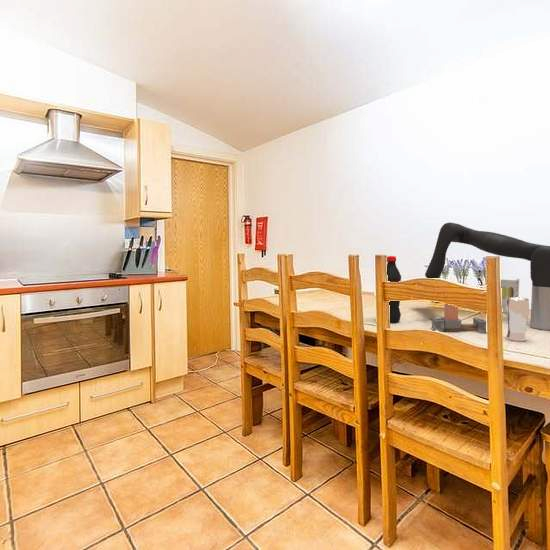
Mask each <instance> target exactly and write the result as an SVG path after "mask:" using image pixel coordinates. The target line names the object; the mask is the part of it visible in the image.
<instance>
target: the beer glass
mask: <svg viewBox="0 0 550 550" xmlns="http://www.w3.org/2000/svg"><path fill="white" fill-rule="evenodd" d="M529 300H530V299H529V298H527V297H526V298H525V297H519V296H518V297H509V298H507V303H506V313H505V316H506V318H505V319H506V323H507V333H506V337H505V339H506V340H510V341H514V342H526V341H527V337H526V327H527V323H528V319H529V313H530V303H529V302H530V301H529Z"/></svg>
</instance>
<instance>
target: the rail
mask: <svg viewBox="0 0 550 550" xmlns="http://www.w3.org/2000/svg"><path fill="white" fill-rule="evenodd" d="M472 319H473V320H472V321H473V322H472V323H461V328H444V320H442V319H441V317H439V316H435V317H431V329H432V328H433V329H434V330H433V329H432V330H433V331H435V330H438V331H444V332H466V331H478V332H477V333H479V332H480V333H479V334H487V333H486V321H487V320H485V319H484V318H483V317H474V318H472Z"/></svg>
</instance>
